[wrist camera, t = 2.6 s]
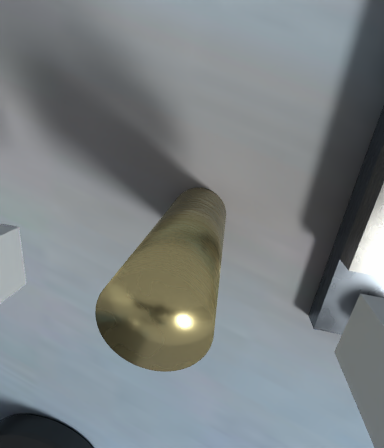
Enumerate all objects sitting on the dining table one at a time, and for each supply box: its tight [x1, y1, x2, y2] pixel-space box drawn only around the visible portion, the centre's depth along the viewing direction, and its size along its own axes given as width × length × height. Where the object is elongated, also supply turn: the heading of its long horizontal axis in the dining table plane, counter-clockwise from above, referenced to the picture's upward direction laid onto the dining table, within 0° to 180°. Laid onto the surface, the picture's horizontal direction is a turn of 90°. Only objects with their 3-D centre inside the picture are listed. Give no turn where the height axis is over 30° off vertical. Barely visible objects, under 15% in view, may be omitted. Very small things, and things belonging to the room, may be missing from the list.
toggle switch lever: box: [95, 188, 226, 371], centre depth 14 cm, size 4×4×12 cm
